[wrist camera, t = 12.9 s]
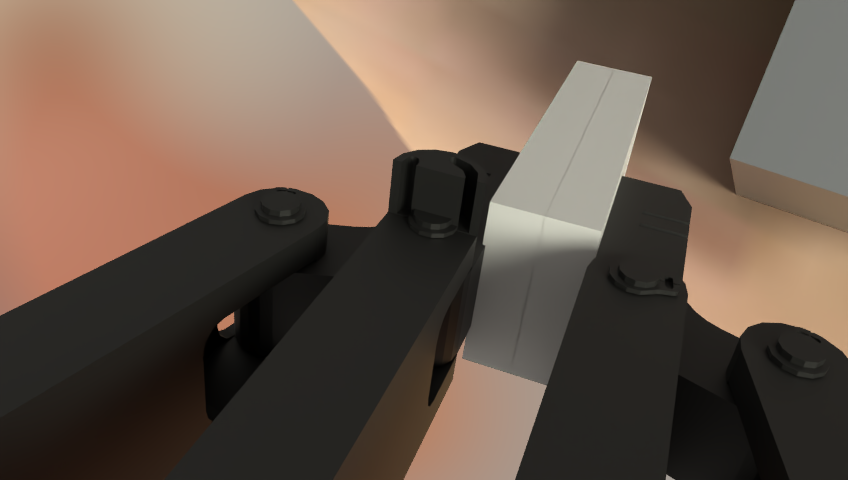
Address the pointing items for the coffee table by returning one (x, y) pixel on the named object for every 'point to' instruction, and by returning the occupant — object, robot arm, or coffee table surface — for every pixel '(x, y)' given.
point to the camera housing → (801, 120)
